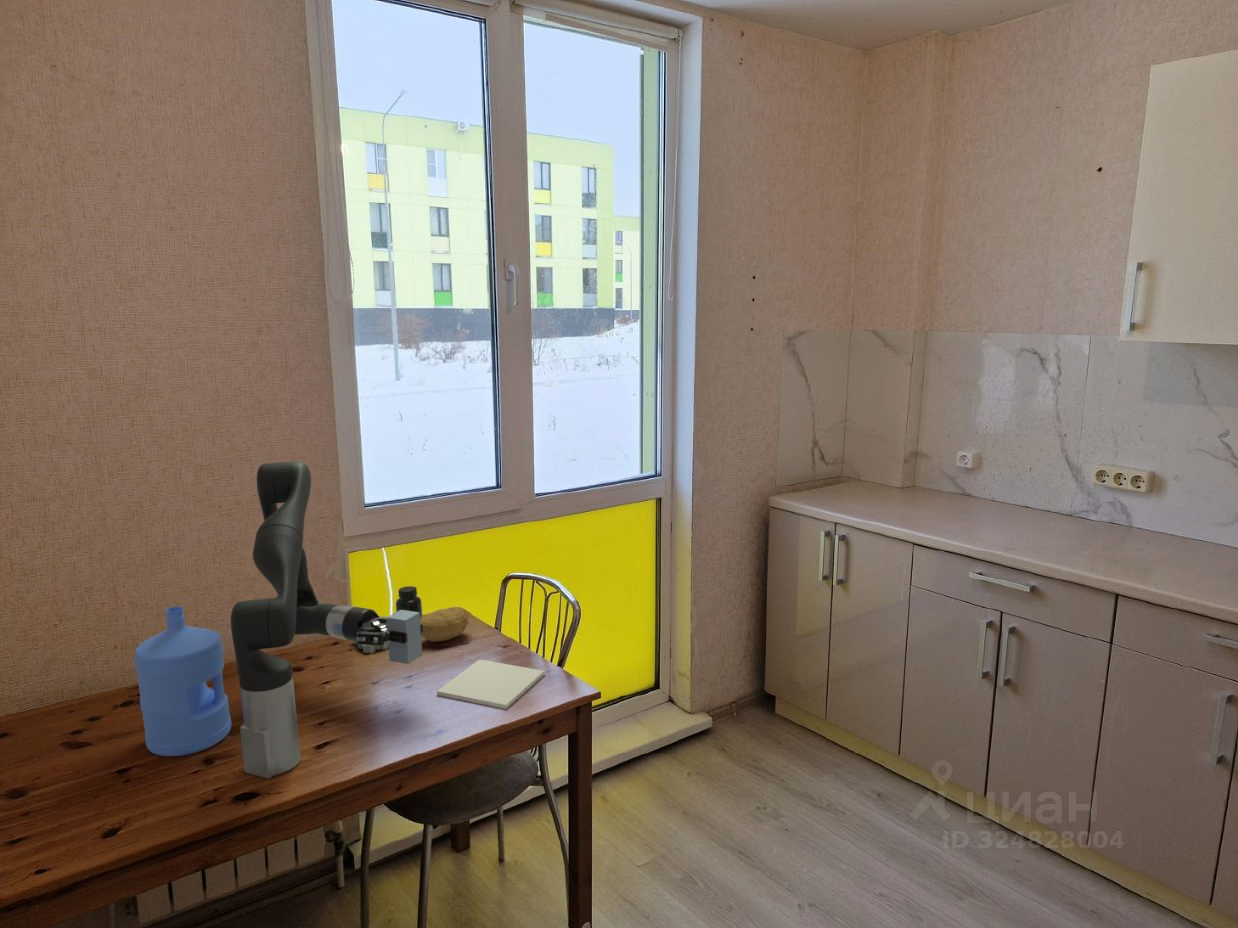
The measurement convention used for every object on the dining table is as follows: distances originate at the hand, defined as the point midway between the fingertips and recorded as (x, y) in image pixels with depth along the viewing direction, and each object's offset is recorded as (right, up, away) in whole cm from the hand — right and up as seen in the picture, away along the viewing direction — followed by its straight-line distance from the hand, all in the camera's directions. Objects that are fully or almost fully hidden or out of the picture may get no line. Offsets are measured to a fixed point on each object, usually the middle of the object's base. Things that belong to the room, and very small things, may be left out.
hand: (414, 633), depth 175 cm
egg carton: (-20, -11, +36) cm, 42 cm away
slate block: (-2, -6, +2) cm, 7 cm away
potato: (-2, -10, +38) cm, 40 cm away
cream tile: (+15, -14, +12) cm, 24 cm away
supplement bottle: (-12, -9, +45) cm, 47 cm away
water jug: (-44, -20, -10) cm, 49 cm away
